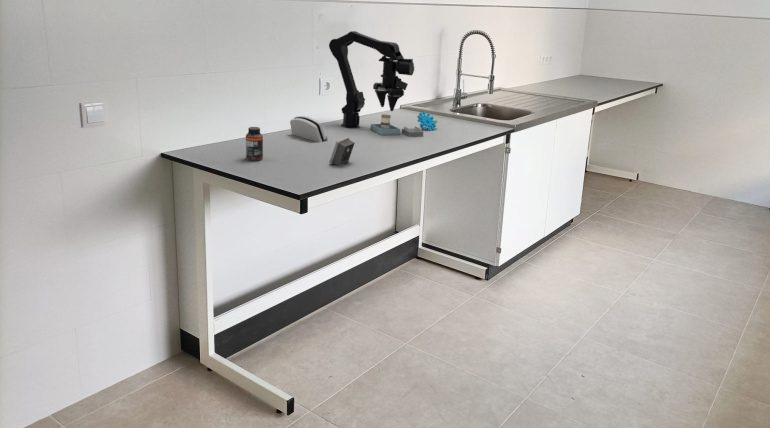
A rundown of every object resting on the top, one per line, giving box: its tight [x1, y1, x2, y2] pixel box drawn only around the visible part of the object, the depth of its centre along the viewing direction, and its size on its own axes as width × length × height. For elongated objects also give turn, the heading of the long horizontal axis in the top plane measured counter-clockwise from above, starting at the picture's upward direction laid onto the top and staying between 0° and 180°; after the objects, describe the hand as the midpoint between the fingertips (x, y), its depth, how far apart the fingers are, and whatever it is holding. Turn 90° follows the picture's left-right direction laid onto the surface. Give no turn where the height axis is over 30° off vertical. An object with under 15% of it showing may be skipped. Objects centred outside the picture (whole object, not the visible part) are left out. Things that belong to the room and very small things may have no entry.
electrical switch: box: [329, 136, 356, 167], centre depth 236 cm, size 9×5×9 cm, turn 158°
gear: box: [417, 111, 438, 132], centre depth 304 cm, size 11×6×10 cm
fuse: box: [380, 113, 392, 129], centre depth 291 cm, size 4×4×7 cm
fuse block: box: [401, 125, 424, 138], centre depth 290 cm, size 7×7×3 cm
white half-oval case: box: [289, 115, 329, 143], centre depth 270 cm, size 17×5×10 cm, turn 51°
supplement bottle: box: [245, 126, 264, 162], centre depth 233 cm, size 6×6×11 cm
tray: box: [370, 123, 401, 136], centre depth 292 cm, size 9×11×2 cm
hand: (387, 109), depth 288 cm, fingers open, 9 cm apart
